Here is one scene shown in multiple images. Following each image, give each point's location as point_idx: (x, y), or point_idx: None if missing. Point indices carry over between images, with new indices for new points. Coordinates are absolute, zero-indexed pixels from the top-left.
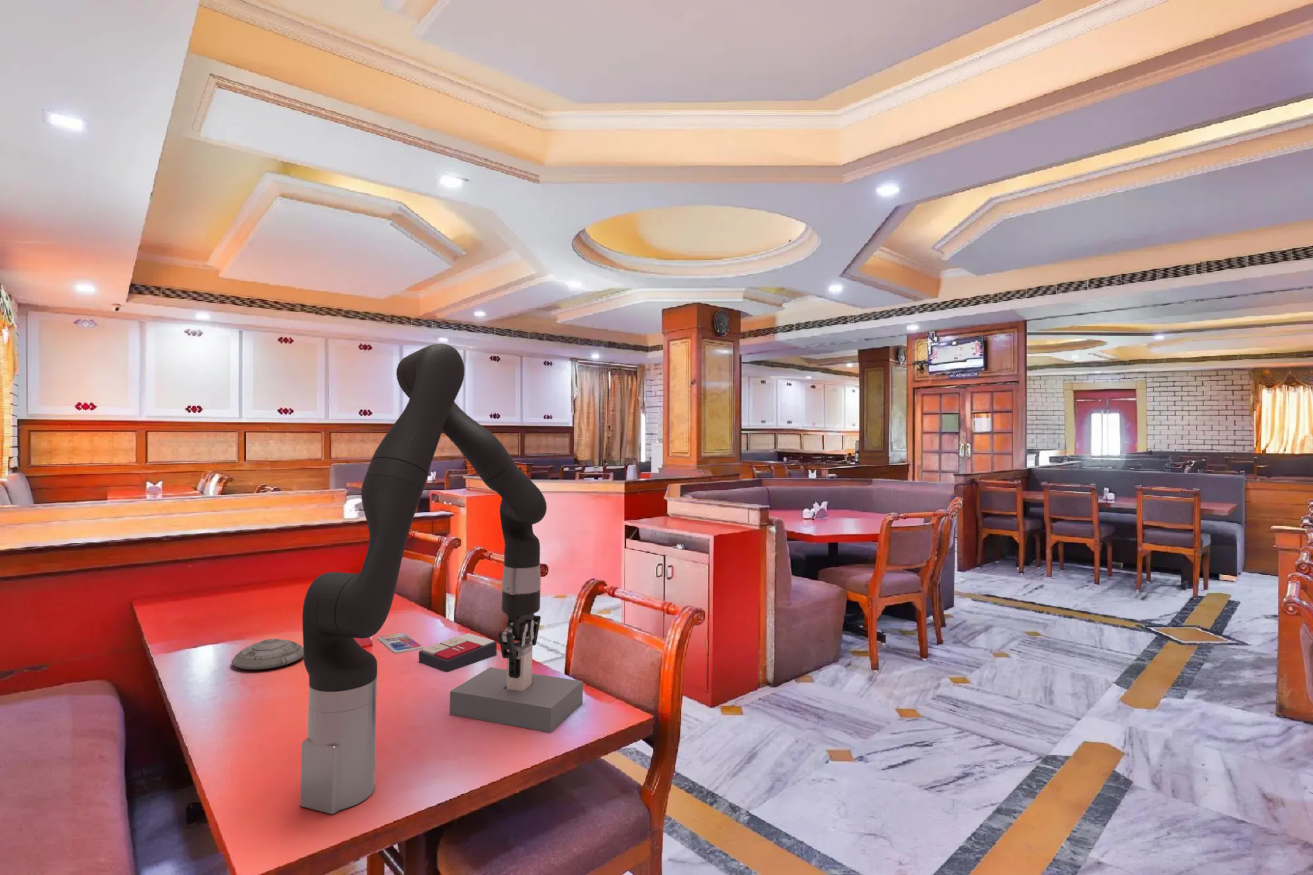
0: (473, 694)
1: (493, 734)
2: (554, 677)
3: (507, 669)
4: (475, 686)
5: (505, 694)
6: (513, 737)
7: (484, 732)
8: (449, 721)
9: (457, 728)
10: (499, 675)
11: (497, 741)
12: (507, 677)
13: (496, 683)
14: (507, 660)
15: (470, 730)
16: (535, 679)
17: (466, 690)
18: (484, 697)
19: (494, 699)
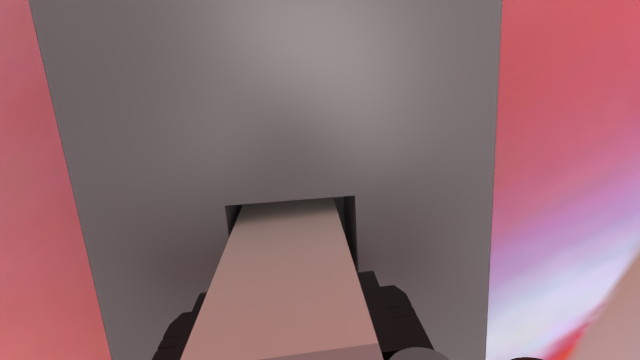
0: (62, 104)
1: (54, 268)
2: (477, 354)
3: (210, 285)
4: (166, 32)
5: (164, 267)
6: (78, 343)
7: (46, 228)
8: (32, 18)
9: (4, 103)
10: (392, 59)
11: (20, 313)
12: (222, 258)
13: (271, 125)
14: (195, 324)
15: (24, 167)
16: (416, 287)
17: (82, 20)
18: (73, 187)
19: (87, 248)
